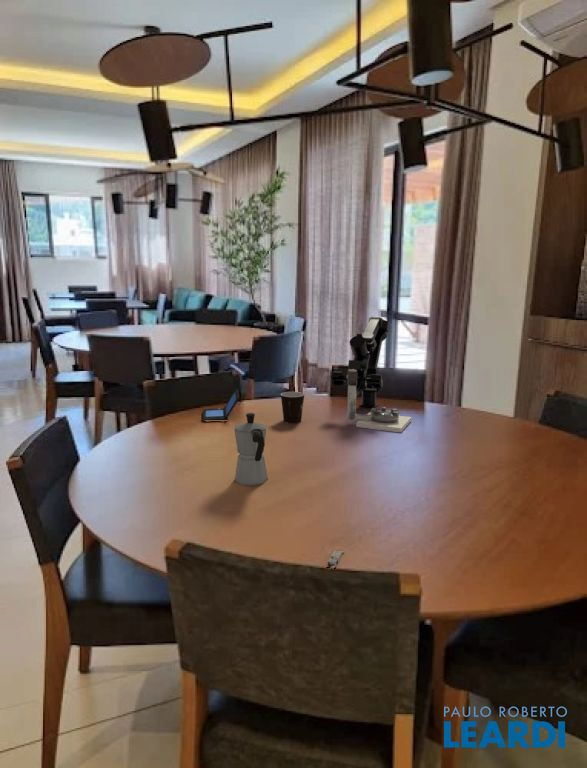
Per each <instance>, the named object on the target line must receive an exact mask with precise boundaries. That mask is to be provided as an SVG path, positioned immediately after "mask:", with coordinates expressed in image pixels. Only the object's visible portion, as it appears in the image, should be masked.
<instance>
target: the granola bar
mask: <svg viewBox="0 0 587 768" xmlns="http://www.w3.org/2000/svg"><path fill="white" fill-rule="evenodd" d="M343 554H345V551H344V550H334V549H333V550H332V553H331V555H330V557H329V560H328V561H327V563H326V565H325V566H326V567H332V566H335V567H336V566H338V565H337V564H339V562H340V560H341V558H342V556H343ZM336 568H337V567H336Z"/></svg>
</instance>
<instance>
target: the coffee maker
mask: <svg viewBox="0 0 587 768" xmlns="http://www.w3.org/2000/svg"><path fill="white" fill-rule="evenodd" d="M255 415H256V414H255V413H254V412H249V413H248V412H247V413H245V416H246V422H243V423H239V424H235V425H234V430H233V431H234V436H235V442H236V448H237V449H236V450H237V453H238V454H239V455H238V457H237V463H236V467H235V468H236V469H235V474H234V475H235V476H234V481H235V482H236V483H237V484H238V485H240V484H241V486H247V487H255V486H260V485H263V484H265V483H266V482H267V481H269V478H268V472H267V466H266V461H265V456H264V454H263V453H264V451H265V450H264V449H265V444H266V443H265V442H266V434H267V426H268V425H267V424H264V423H260V422H254V421H255V420H254V419H255Z"/></svg>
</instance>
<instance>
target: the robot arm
mask: <svg viewBox="0 0 587 768" xmlns="http://www.w3.org/2000/svg"><path fill="white" fill-rule="evenodd" d="M390 330H391V325H390V322H389V321H388V320H386V319H383V317H381V316H371V317H369V319H368V323H367V325H366V328H365V329H364V332H362V333H356V335H355V336H353V337H352V338H351V339H350V340H349V346H350V349H351V353H352V355H353V356H354V357H353V359H349V360H348V362H347V363H348V364H347V370H348V369H357V371H358V373H357V387H356V398H357V397H358V396H359V394H361V403H359V404H358V407H366V408H375V407H377V406H378V405H379V403H378V402H377V393H381V392H382V390H383V385H384V382H383V377H382V374H379V373H378V370H377V369H378V364H379V360H380V359H379V358H380V355H381V349H382V345H383V344H382V343H383V342H384V341H385V340H386V339H387V338H388V335H389V333H390V332H391V331H390ZM330 380H331V383H332V385H333V386H339V387H341V386H343V385H344V383H345V385H346V388H347V389H348V374H346V375H344V373H343V371H332V372H331V373H330Z"/></svg>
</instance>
